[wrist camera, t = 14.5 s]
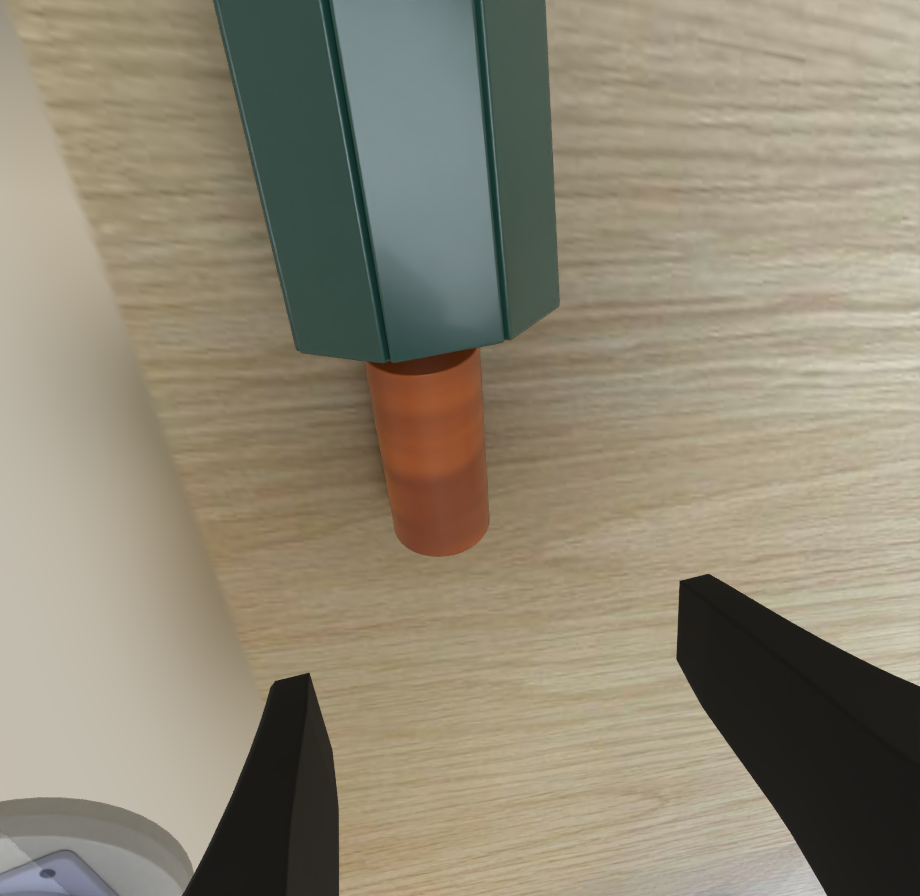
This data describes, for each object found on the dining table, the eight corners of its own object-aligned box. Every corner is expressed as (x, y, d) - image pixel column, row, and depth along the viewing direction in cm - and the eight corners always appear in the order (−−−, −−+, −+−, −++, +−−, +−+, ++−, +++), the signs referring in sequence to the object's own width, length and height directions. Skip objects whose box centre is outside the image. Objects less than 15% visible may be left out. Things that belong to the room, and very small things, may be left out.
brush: (479, 475, 22) (510, 546, 19) (379, 498, 21) (398, 574, 19) (436, -159, 12) (488, -177, 10) (254, -145, 12) (261, -161, 9)
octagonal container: (496, 258, 18) (591, 327, 13) (295, 292, 18) (297, 382, 12) (451, -241, 14) (570, -499, 8) (177, -224, 13) (84, -496, 7)
